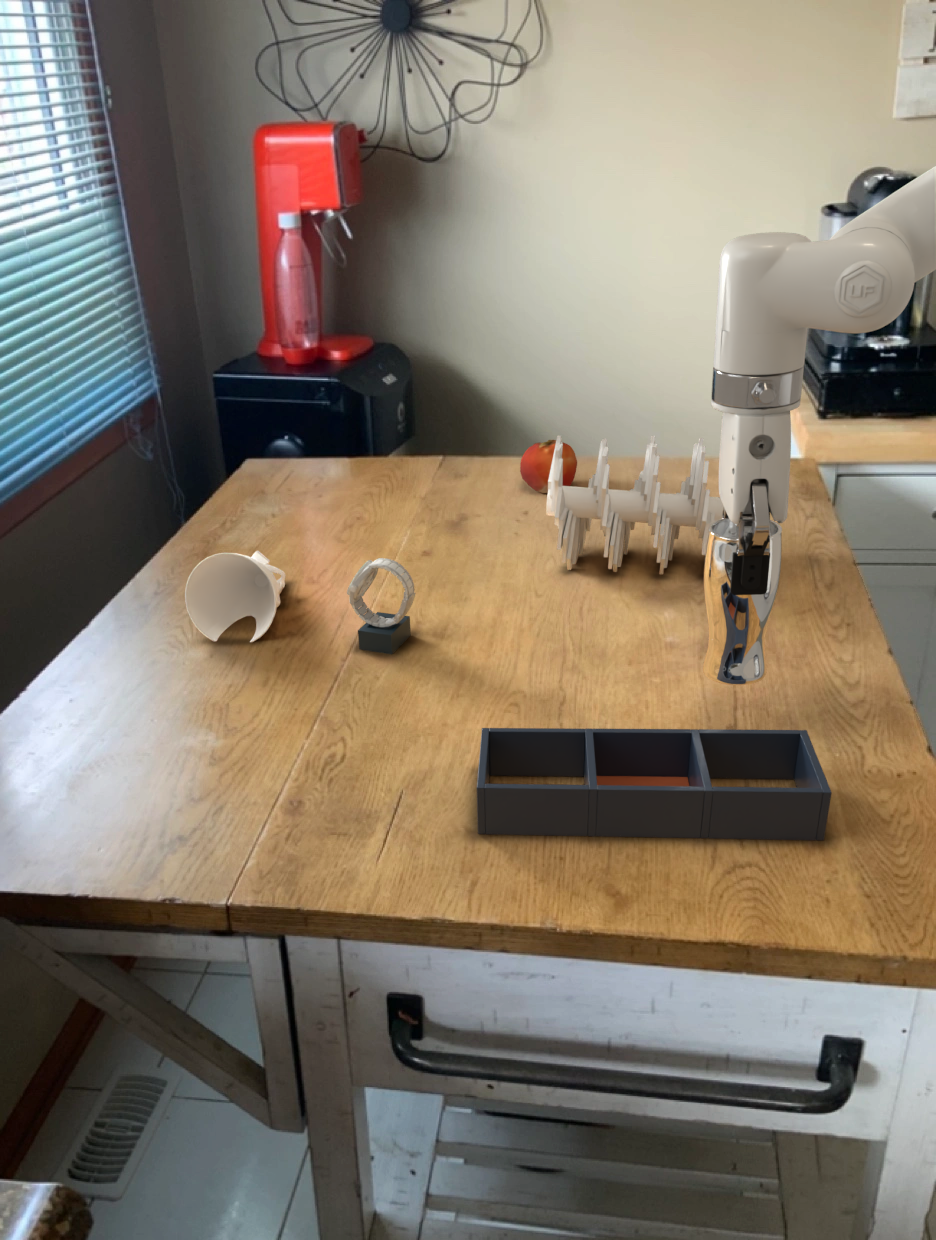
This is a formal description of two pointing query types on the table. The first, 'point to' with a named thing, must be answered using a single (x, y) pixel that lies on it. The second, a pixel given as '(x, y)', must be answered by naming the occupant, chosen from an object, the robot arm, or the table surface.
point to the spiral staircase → (630, 506)
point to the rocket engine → (233, 592)
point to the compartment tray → (652, 783)
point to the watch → (381, 627)
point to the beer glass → (736, 609)
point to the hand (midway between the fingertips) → (741, 575)
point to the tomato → (546, 465)
